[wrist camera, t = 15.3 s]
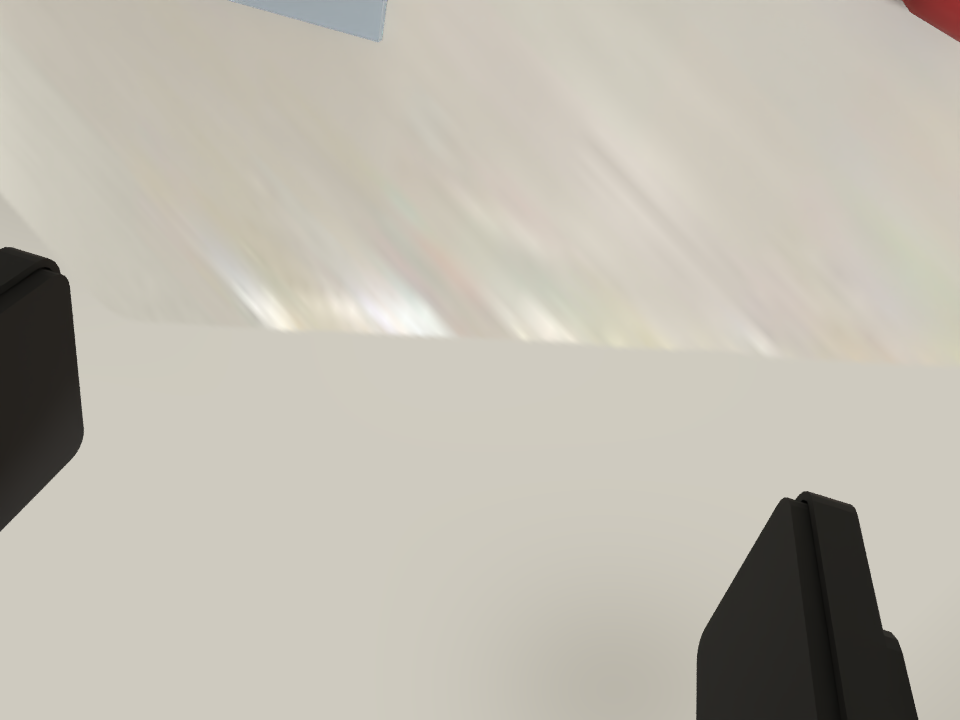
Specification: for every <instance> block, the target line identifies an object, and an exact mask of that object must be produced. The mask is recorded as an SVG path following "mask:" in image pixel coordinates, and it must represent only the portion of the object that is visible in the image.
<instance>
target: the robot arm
mask: <svg viewBox="0 0 960 720" xmlns="http://www.w3.org/2000/svg"><path fill="white" fill-rule="evenodd" d="M83 435H84V427H83V418H82V407H81V396H80V387H79V377H78V366H77V355H76V346H75V335H74V325H73V314H72V304H71V294H70V285H69V282H68V279H67V278H66V277H65V276H63V275H62V274H61V273H60V269H59V267H58V266H57V264H56V263H55V262H54V261H52V260H50V259H48V258H45V257H42V256H38V255H35V254H32V253H29V252H25V251H21V250H18V249H15V248H12V247H4V248H2V249H0V531H1V530H2V529H3V528H4V527H5V526H6V525H7V524H8V523H9V522H10V521H11V520H12V519H13V518H14V517H15V516H16V515H17V514H18V513H19V512H20V511H21V510H22V509H23V508H24V507H25V506H26V505H27V504H28V503H29V502H30V501H31V500H32V499H33V498H34V497H35V496H36V495H37V494H38V493H39V492H40V491H41V490H42V489H43V488H44V486H46V485H47V484H48V482H49V481H50V480H51V479H52V478H53V477H54V476H55V475H56V474H57V473H58V472H59V471H60V470H61V469H62V468H63V467H64V466H65V465H66V464H67V463H68V462H69V461H70V460H71V459H72V458H73V457H74V456H75V454H76V453H77V451H78V449H79V448H80V445H81V443H82V439H83ZM696 714H697V716H696V720H918V717H917V712H916V708H915V704H914V699H913V695H912V691H911V687H910V683H909V678H908V675H907V670H906V666H905V662H904V658H903V653H902V650H901V648H900V645H899V642H898V640H897V639H896V637H895V636H894V635H893V634H892V633H891V632H889V631H885V630H883V628H882V624H881V619H880V615H879V610H878V606H877V601H876V597H875V592H874V588H873V583H872V578H871V574H870V569H869V565H868V560H867V556H866V551H865V547H864V542H863V538H862V533H861V528H860V524H859V519H858V515H857V512H856V509H855V508H854V507H853V506H852V505H851V504H847V503H843V502H841V501H837V500H834V499H831V498H828V497H824V496H821V495H818V494H815V493H811V492H808V491H806V492H802V493H801V494H800V495H799V496H798V497H797V498H796V500H793V499H790V498H783V499H782V500H781V501H780V502H779V503H778V505H777V506H776V508H775V510H774V512H773V513H772V515H771V517H770V518H769V520H768V522H767V524H766V525H765V527H764V529H763V530H762V532H761V534H760V536H759V537H758V539H757V541H756V542H755V544H754V546H753V547H752V549H751V551H750V552H749V554H748V556H747V558H746V559H745V561H744V563H743V564H742V566H741V568H740V570H739V571H738V573H737V575H736V576H735V578H734V580H733V582H732V583H731V585H730V587H729V588H728V590H727V592H726V593H725V595H724V597H723V599H722V600H721V602H720V604H719V605H718V607H717V609H716V611H715V612H714V614H713V616H712V617H711V619H710V621H709V623H708V624H707V626H706V628H705V629H704V631H703V633H702V636H701V639H700V643H699V647H698V653H697V710H696Z"/></svg>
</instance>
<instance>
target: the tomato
mask: <svg viewBox="0 0 960 720" xmlns="http://www.w3.org/2000/svg"><path fill="white" fill-rule="evenodd" d="M902 1H903V2H904V4H905V5H906V7H907V8H908V9H909V11H910V12H911V13H913V14H914V15H916V16H917V17H919V18H921V19H922V20H924V21H926V22H927V23H929V24H931V25H932V26H934V27H936V28H937V29H939V30H940V31H942V32H944V33H945V34H947V35H949V36H950V37H952V38H954V39H955V40H957V41H959V42H960V0H902Z"/></svg>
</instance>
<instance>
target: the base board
mask: <svg viewBox="0 0 960 720" xmlns="http://www.w3.org/2000/svg"><path fill="white" fill-rule="evenodd" d="M229 1H232V2H236V3H240V4H243V5H247V6H250V7H254V8H257V9H261V10H265V11H268V12H272V13H275V14H279V15H282V16H286V17H290V18H293V19H297V20H300V21H304V22H308V23H311V24H315V25H318V26H322V27H325V28H329V29H333V30H336V31H340V32H343V33H347V34H350V35H354V36H358V37H361V38H365V39H368V40H372V41H375V42H379V41H381V40H382V35H383V28H384V20H385V12H386V5H387V0H229Z"/></svg>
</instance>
